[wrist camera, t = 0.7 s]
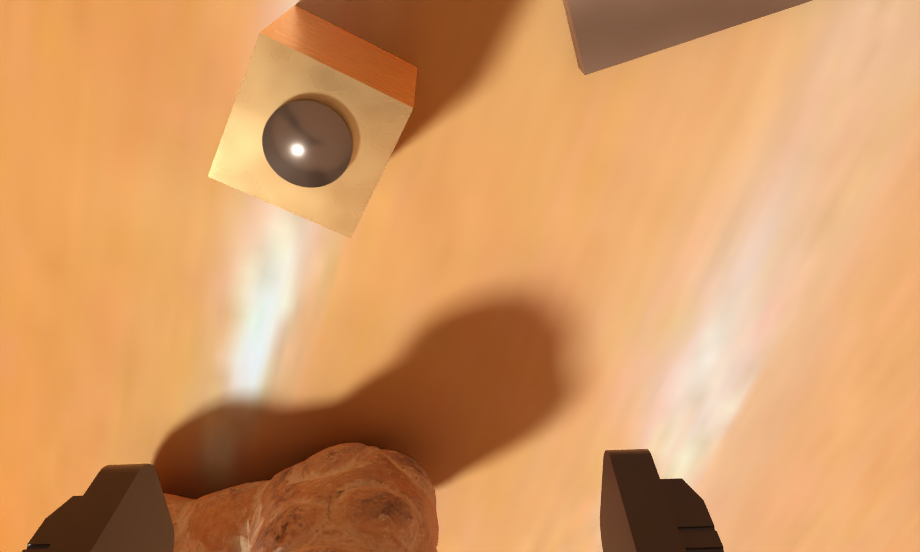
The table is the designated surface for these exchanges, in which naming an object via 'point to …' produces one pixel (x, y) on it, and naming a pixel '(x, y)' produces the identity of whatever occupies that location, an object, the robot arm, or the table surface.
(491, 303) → the table surface
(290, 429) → the table surface
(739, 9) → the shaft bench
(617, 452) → the robot arm
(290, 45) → the tan knob block
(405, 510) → the pipe
